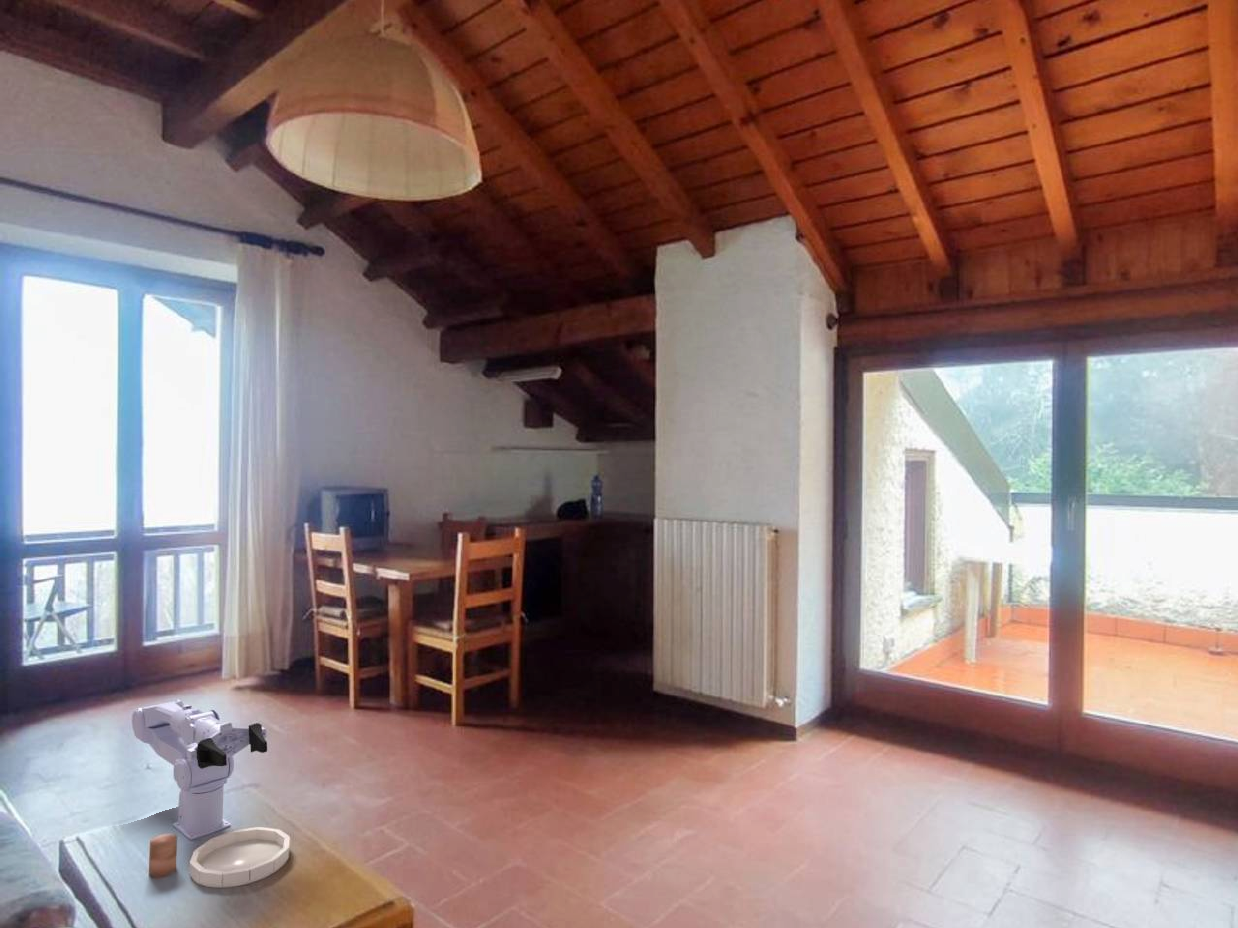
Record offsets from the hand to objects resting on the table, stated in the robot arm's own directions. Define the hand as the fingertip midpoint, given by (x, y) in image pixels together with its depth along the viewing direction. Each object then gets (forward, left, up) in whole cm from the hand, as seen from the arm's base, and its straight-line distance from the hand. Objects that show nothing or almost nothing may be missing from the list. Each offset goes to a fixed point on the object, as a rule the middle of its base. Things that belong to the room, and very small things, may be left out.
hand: (245, 753), depth 142 cm
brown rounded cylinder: (-7, -11, -21) cm, 25 cm away
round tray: (+1, 0, -21) cm, 21 cm away
